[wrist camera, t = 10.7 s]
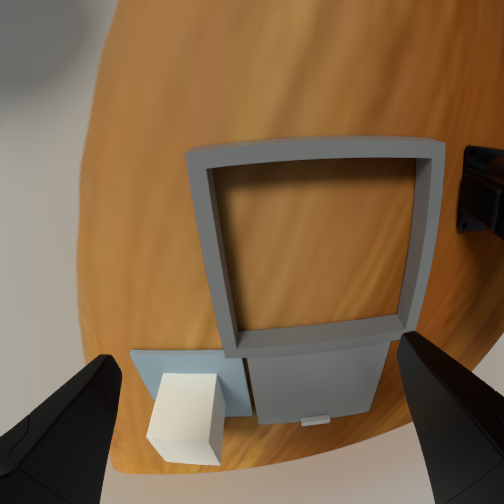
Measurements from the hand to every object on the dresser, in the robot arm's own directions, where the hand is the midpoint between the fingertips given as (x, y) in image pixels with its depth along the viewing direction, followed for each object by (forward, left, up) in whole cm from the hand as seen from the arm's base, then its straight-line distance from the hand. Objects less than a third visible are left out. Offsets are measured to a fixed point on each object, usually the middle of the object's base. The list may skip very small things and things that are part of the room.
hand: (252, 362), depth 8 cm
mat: (+7, +16, -12) cm, 21 cm away
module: (+7, +16, -11) cm, 21 cm away
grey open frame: (-4, +9, -12) cm, 16 cm away
